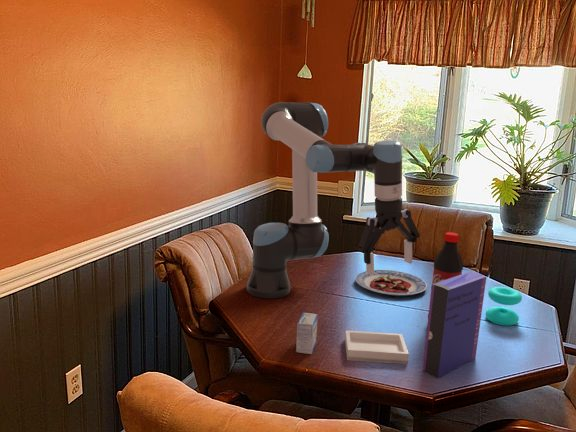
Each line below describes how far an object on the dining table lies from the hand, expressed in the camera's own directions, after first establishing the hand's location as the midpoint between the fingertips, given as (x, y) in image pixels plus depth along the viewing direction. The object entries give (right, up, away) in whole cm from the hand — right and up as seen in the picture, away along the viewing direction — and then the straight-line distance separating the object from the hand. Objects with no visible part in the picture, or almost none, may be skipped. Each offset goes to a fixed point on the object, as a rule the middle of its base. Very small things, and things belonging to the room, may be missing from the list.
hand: (389, 267), depth 163 cm
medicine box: (-24, -22, -7) cm, 33 cm away
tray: (-5, -22, -8) cm, 24 cm away
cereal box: (+13, -25, -13) cm, 31 cm away
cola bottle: (+17, -19, +10) cm, 28 cm away
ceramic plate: (+8, -11, +43) cm, 45 cm away
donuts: (+39, -19, +17) cm, 46 cm away
